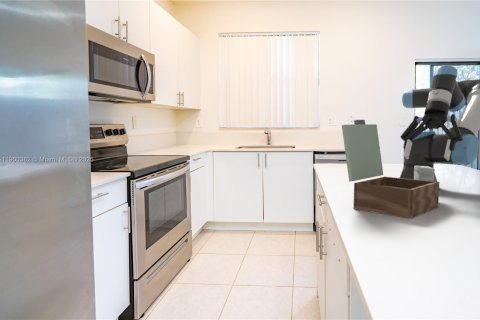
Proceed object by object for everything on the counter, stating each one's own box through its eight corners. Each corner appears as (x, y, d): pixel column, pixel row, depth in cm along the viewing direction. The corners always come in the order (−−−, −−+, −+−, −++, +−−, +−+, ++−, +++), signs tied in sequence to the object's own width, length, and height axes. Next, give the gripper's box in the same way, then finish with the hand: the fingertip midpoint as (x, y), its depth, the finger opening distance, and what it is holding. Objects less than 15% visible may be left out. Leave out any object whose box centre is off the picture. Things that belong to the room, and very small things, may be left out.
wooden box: (384, 199, 140) (385, 176, 139) (438, 207, 127) (439, 181, 126) (353, 208, 125) (354, 183, 124) (410, 218, 112) (412, 189, 112)
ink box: (433, 203, 134) (435, 168, 133) (418, 202, 135) (419, 168, 134) (427, 198, 142) (428, 165, 141) (412, 197, 143) (414, 165, 142)
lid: (383, 175, 139) (380, 175, 140) (376, 119, 140) (372, 120, 141) (352, 181, 125) (349, 181, 126) (344, 119, 125) (341, 120, 126)
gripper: (399, 101, 149) (386, 152, 143) (473, 96, 131) (461, 153, 125) (407, 112, 154) (394, 161, 148) (479, 108, 136) (468, 164, 130)
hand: (425, 158), depth 136 cm, fingers open, 13 cm apart
